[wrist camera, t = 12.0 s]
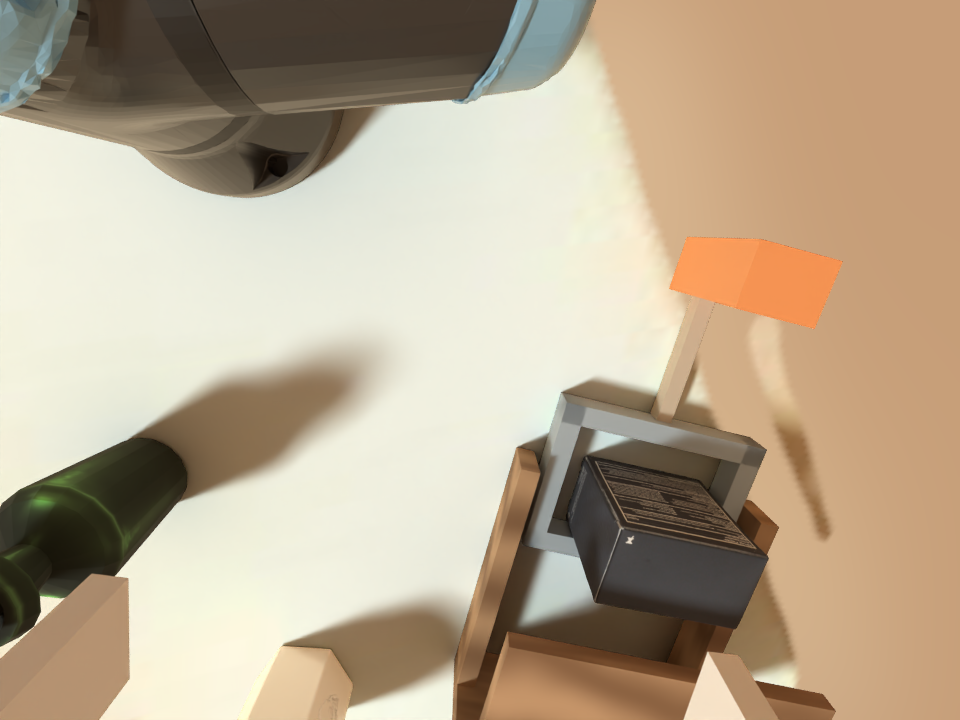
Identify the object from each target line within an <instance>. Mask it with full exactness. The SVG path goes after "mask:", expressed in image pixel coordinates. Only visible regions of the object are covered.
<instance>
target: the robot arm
mask: <svg viewBox="0 0 960 720" xmlns="http://www.w3.org/2000/svg"><path fill="white" fill-rule="evenodd" d="M595 2H596V0H0V115H2V116H6V117H10V118H14V119H19V120H23V121H27V122H31V123H35V124H39V125H44V126H48V127H52V128H56V129H60V130H64V131H69V132H73V133H77V134H81V135H85V136H89V137H94V138H98V139H102V140H106V141H110V142H114V143H118V144H123V145H127V146H131V147H134V148H135V149H136V150H137V151H138V152H140V153H141V154H142V155H143V156H144V157H145V158H146V159H148V160H149V161H150V162H151V163H152V164H153V165H155V166H156V167H157V168H158V169H160V170H161V171H163V172H164V173H165V174H167V175H169V176H170V177H172V178H174V179H175V180H177V181H179V182H181V183H183V184H185V185H188V186H190V187H192V188H195V189H198V190H201V191H204V192H207V193H212V194H217V195H224V196H230V197H240V198H253V197H262V196H267V195H271V194H275V193H278V192H281V191H283V190H286V189H288V188H290V187H292V186H293V185H295V184H297V183H298V182H300V181H301V180H303V179H304V178H305V177H307V176H308V175H309V174H310V173H311V172H312V171H313V170H314V169H315V168H316V167H317V166H318V165H319V164H320V163H321V161H322V160H323V159H324V157H325V156H326V154H327V153H328V151H329V149H330V148H331V146H332V144H333V142H334V140H335V137H336V135H337V132H338V129H339V126H340V123H341V119H342V114H343V109H348V108H360V107H372V106H384V105H395V104H407V103H419V102H431V101H443V100H452V101H453V102H454V103H457V104H467V103H468V102H470V101H475V100H477V99H478V98H479V97H481V96H486V95H493V94H500V93H508V92H515V91H522V90H529V89H532V88H535V87H537V86H539V85H541V84H542V83H544V82H545V81H547V80H549V79H550V78H551V77H552V76H554V75H555V74H557V73H558V72H559V71H560V70H561V69H562V68H563V67H564V65H565V64H566V63H567V61H568V60H569V58H570V57H571V56H572V54H573V52H574V51H575V49H576V47H577V45H578V43H579V41H580V39H581V37H582V35H583V33H584V31H585V29H586V26H587V24H588V21H589V19H590V16H591V13H592V11H593V8H594V5H595ZM129 679H130V675H129V594H128V578H123V577H115V576H107V575H99V574H91V575H90V576H89V577H88V578H86V579H85V580H84V581H83V582H82V583H81V584H80V585H79V586H78V587H77V588H76V589H75V590H74V591H73V592H71V593H70V594H69V595H68V596H67V597H66V598H65V599H64V600H63V601H62V602H61V603H60V604H59V605H58V606H56V607H55V608H54V609H53V610H52V611H51V612H50V613H49V614H48V615H47V616H46V617H45V618H44V619H43V620H41V621H40V622H39V623H38V624H37V625H36V626H35V627H34V628H33V629H32V630H31V631H30V632H29V633H27V634H26V635H25V636H24V637H23V638H22V639H21V640H20V641H19V642H18V643H17V644H16V645H15V646H14V647H12V648H11V649H10V650H9V651H8V652H7V653H6V654H5V655H4V656H3V657H2V658H1V659H0V720H99V719H100V718H101V716H102V715H103V714H104V712H105V711H106V710H107V708H108V707H109V706H110V704H111V703H112V702H113V700H114V699H115V697H116V696H117V695H118V693H119V692H120V691H121V689H122V688H123V687H124V685H125V684H126V683H127V681H128V680H129ZM684 720H779V719H778V717H777V716H776V714H775V713H774V711H773V709H772V708H771V706H770V704H769V703H768V701H767V700H766V698H765V696H764V695H763V693H762V692H761V690H760V688H759V687H758V685H757V684H756V682H755V680H754V679H753V677H752V675H751V674H750V672H749V671H748V669H747V667H746V666H745V664H744V663H743V661H742V659H741V658H740V656H739V655H732V654H724V653H716V652H707V655H706V658H705V661H704V663H703V666H702V669H701V672H700V675H699V677H698V680H697V683H696V686H695V689H694V692H693V694H692V697H691V700H690V703H689V706H688V708H687V711H686V714H685V717H684Z"/></svg>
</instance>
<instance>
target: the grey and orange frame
mask: <svg viewBox="0 0 960 720" xmlns="http://www.w3.org/2000/svg"><path fill="white" fill-rule="evenodd" d="M841 264H842V261H840V260H836V259H832V258H829V257H825V256H821V255H818V254H814V253H810V252H806V251H803V250H799V249H795V248H792V247H788V246H785V245H781V244H777V243H773V242H770V241H766V240H762V239H740V238H739V239H738V238H706V237H687V238H686V242H685V244H684V247H683V250H682V253H681V256H680V259H679V262H678V265H677V267H676V270H675V273H674V276H673V279H672V282H671V285H670V288H669V289H671V290H675V291H678V292H682V293H685V294H688V295H692V297H691V300H690V303H689V306H688V308H687V311H686V314H685V317H684V320H683V322H682V325H681V328H680V331H679V334H678V337H677V339H676V342H675V345H674V348H673V351H672V353H671V356H670V359H669V362H668V365H667V367H666V370H665V373H664V376H663V379H662V382H661V384H660V387H659V390H658V393H657V396H656V398H655V401H654V404H653V407H652V410H651V413H646V412H642V411H638V410H634V409H629V408H625V407H621V406H617V405H613V404H609V403H604V402H600V401H596V400H592V399H588V398H583V397H579V396H575V395H571V394H567V393H563V392H561V395H560V398H559V402H558V405H557V408H556V411H555V415H554V418H553V421H552V424H551V428H550V431H549V434H548V437H547V441H546V444H545V447H544V450H543V454H542V457H541V460H540V464H539V470H540V473H541V474H540V477H539V480H538V483H537V487H536V490H535V493H534V496H533V500H532V503H531V506H530V509H529V512H528V516H527V519H526V522H525V525H524V529H523V532H522V535H521V538H522V544H523V545H524V546H528V547H533V548H538V549H542V550H547V551H552V552H556V553H561V554H566V555H571V556H575V557H580V556H579V553H578V550H577V547H576V544H575V541H574V538H573V535H572V532H571V529H570V526H569V523H568V521H564V520H560V519H555V518H552V515H553V512H554V509H555V506H556V502H557V499H558V496H559V493H560V490H561V487H562V484H563V481H564V478H565V475H566V471H567V468H568V465H569V462H570V459H571V456H572V453H573V450H574V447H575V443H576V440H577V437H578V434H579V431H580V428H581V426H582V427H586V428H590V429H595V430H599V431H603V432H608V433H612V434H616V435H620V436H625V437H629V438H633V439H637V440H642V441H646V442H650V443H654V444H659V445H663V446H667V447H672V448H676V449H680V450H684V451H689V452H693V453H697V454H701V455H706V456H710V457H714V458H719V459H721V462H720V464H719V467H718V469H717V472H716V474H715V477H714V479H713V482H712V484H711V487H710V489H709V492H710V493H711V495H712V496H713V497H714V498H715V499H716V500H717V502H718V503H719V504H720V505H721V506H722V507H723V508H724V510H725V511H726V512H727V513H728V514H729V515H730V516H731V518H732V519H733V520H734V521H735V522H737V520H738V517H739V515H740V513H741V510H742V508H743V505H744V503H745V501H746V498H747V496H748V494H749V491H750V489H751V487H752V484H753V482H754V479H755V477H756V475H757V472H758V470H759V467H760V465H761V463H762V460H763V458H764V456H765V453H766V451H767V450H766V449H765V448H764V447H762V446H761V445H760V444H758V443H757V442H756V441H754V440H753V439H751V438H750V437H746V436H742V435H738V434H734V433H730V432H726V431H722V430H717V429H713V428H709V427H705V426H701V425H696V424H692V423H688V422H684V421H680V420H676V419H673V417H674V414H675V411H676V409H677V406H678V403H679V400H680V398H681V395H682V392H683V389H684V387H685V384H686V381H687V379H688V376H689V373H690V370H691V368H692V365H693V362H694V360H695V357H696V354H697V351H698V349H699V346H700V343H701V341H702V338H703V335H704V332H705V329H706V327H707V324H708V321H709V319H710V316H711V313H712V310H713V308H714V305H715V302H716V303H719V304H723V305H726V306H729V307H733V308H737V309H740V310H744V311H748V312H752V313H756V314H759V315H763V316H767V317H771V318H775V319H779V320H783V321H786V322H790V323H794V324H798V325H802V326H806V327H810V328H813V329H814V328H815V326H816V324H817V322H818V319H819V316H820V315H821V312H822V310H823V307H824V305H825V302H826V300H827V298H828V296H829V293H830V290H831V288H832V286H833V283H834V281H835V279H836V276H837V274H838V272H839V269H840V267H841Z"/></svg>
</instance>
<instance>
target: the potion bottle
mask: <svg viewBox="0 0 960 720" xmlns="http://www.w3.org/2000/svg"><path fill="white" fill-rule="evenodd" d="M186 487H187V472H186V470H185V468H184V465H183V463H182V461H181V459H180V458H179V457H178V456H177V455H176V454H175V453H174V452H173V451H172V450H171V449H170V448H169V447H167V446H165V445H163V444H161V443H159V442H157V441H156V440H150V439H143V438H136V439H132V440H128V441H123V442H121V443H119V444H117V445H115V446H113V447H110V448H108V449H106V450H104V451H102V452H100V453H98V454H95V455H93V456H91V457H89V458H87V459H85V460H82V461H80V462H78V463H76V464H74V465H72V466H70V467H67V468H65V469H63V470H61V471H59V472H57V473H54V474H52V475H50V476H48V477H46V478H44V479H42V480H39V481H37V482H35V483H33V484H31V485H29V486H26V487H24V488H22V489H20V490H18V491H17V492H16V493H15V494H13V495H12V496H11V497H10V498H8V499H7V500H6V501H5V502H3V503H2V505H1V507H0V647H1V646H3V645H5V644H7V643H9V642H11V641H13V640H15V639H17V638H19V637H20V636H22V635H23V634H24V633H26V632H27V631H29V630H30V629H31V628H33V627H34V625H35V623H36V621H37V619H38V617H39V615H40V612H41V607H40V596H45V597H54V598H65V597H67V596H68V595H69V594H70V593H71V592H73V591H74V590H75V589H76V588H77V587H78V586H79V585H80V584H81V583H82V582H83V581H84V580H85V579H86V578H88V577H89V576H90V575H91V574H99V575H107V576H115V575H116V574H117V573H118V572H119V571H120V569H121V568H122V567H123V566H124V565H125V564H126V562H127V561H128V560H129V559H130V558H131V556H132V555H133V554H134V553H135V552H136V551H137V549H138V548H139V547H140V546H141V545H142V544H143V542H144V541H145V540H146V539H147V538H148V537H149V535H150V534H151V533H152V532H153V531H154V530H155V528H156V527H157V526H158V525H159V524H160V522H161V521H162V520H163V519H164V518H165V517H166V515H167V514H168V513H169V512H170V511H171V510H172V508H173V507H174V506H175V505H176V504H177V503H178V501H179V500H180V499H181V497H182V495H183V493H184V491H185V489H186Z"/></svg>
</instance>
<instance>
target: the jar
mask: <svg viewBox="0 0 960 720" xmlns="http://www.w3.org/2000/svg"><path fill="white" fill-rule="evenodd" d="M352 689H353V683H352V682H351V680H350V679H349V677H348V675H347V674H346V672H345V671H344V669H343V668H342V666H341V665H340V663H339V662H338V660H337V658H336V657H335V655H334V654H333V652H332V651H331V649H323V648H307V647H292V646H281V647H280V648H279V649H278V651H277V652H276V653H275V655H274V656H273V657H272V659H271V660H270V661H269V663H268V664H267V665H266V667H265V668H264V670H263V671H262V672H261V674H260V675H259V676H258V678H257V679H256V681H255V683H254V685H253V687H252V689H251V691H250V694H249V696H248V698H247V700H246V702H245V704H244V706H243V708H242V710H241V712H240V715H239V717H238V719H237V720H345V716H346V712H347V709H348V705H349V701H350V697H351V693H352Z"/></svg>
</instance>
